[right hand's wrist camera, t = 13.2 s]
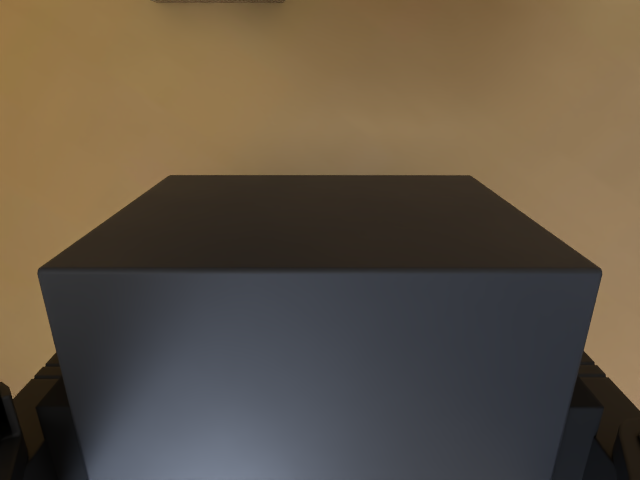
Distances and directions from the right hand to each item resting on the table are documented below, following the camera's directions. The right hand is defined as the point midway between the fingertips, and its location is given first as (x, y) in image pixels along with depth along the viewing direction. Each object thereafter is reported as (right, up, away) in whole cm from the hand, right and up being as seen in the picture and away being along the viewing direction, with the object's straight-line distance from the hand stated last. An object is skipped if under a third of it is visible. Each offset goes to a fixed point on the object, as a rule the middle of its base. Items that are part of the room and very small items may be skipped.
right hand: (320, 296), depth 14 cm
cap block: (0, 0, -1) cm, 1 cm away
